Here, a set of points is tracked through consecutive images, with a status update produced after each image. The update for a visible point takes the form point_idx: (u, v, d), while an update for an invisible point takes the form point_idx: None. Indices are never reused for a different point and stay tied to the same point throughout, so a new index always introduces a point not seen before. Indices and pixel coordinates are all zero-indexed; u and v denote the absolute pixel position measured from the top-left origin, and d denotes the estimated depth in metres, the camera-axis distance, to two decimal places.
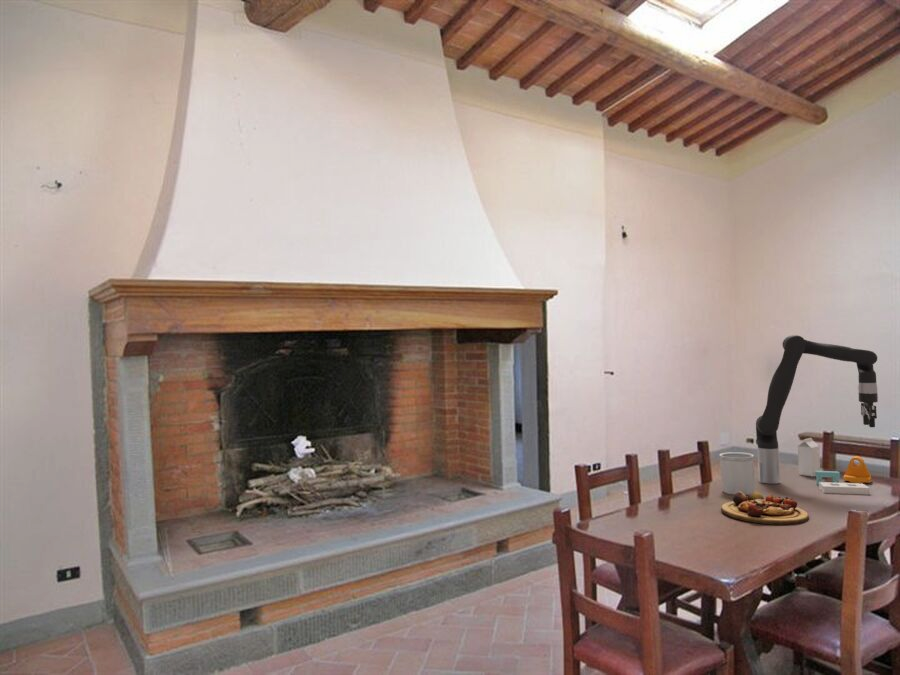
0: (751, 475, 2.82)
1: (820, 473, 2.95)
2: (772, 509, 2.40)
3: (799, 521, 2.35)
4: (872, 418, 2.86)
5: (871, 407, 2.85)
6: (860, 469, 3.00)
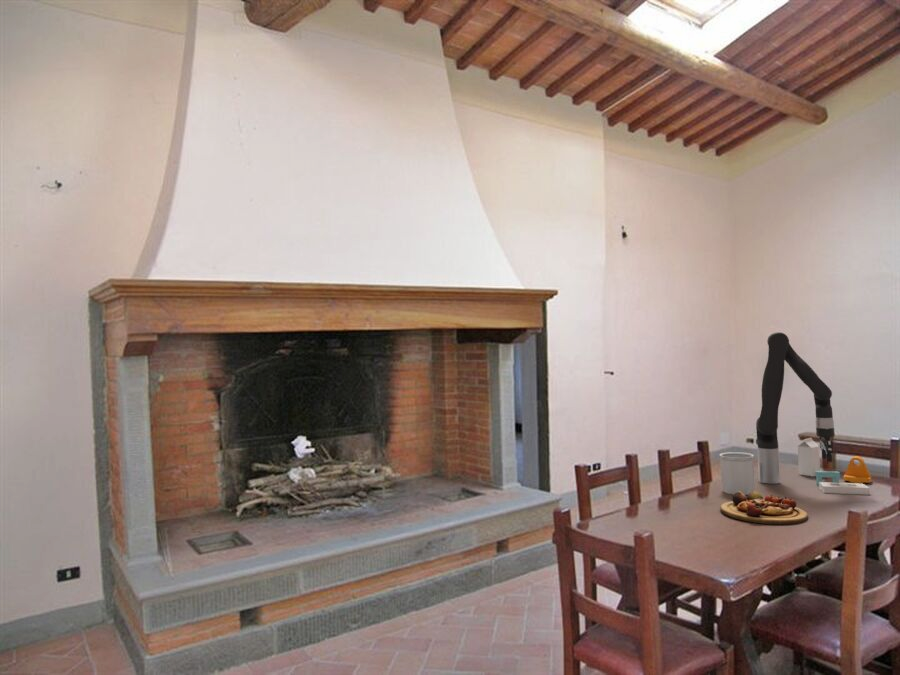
0: (751, 475, 2.82)
1: (820, 473, 2.95)
2: (771, 509, 2.40)
3: (798, 521, 2.35)
4: (829, 453, 2.89)
5: (827, 442, 2.89)
6: (860, 469, 3.00)
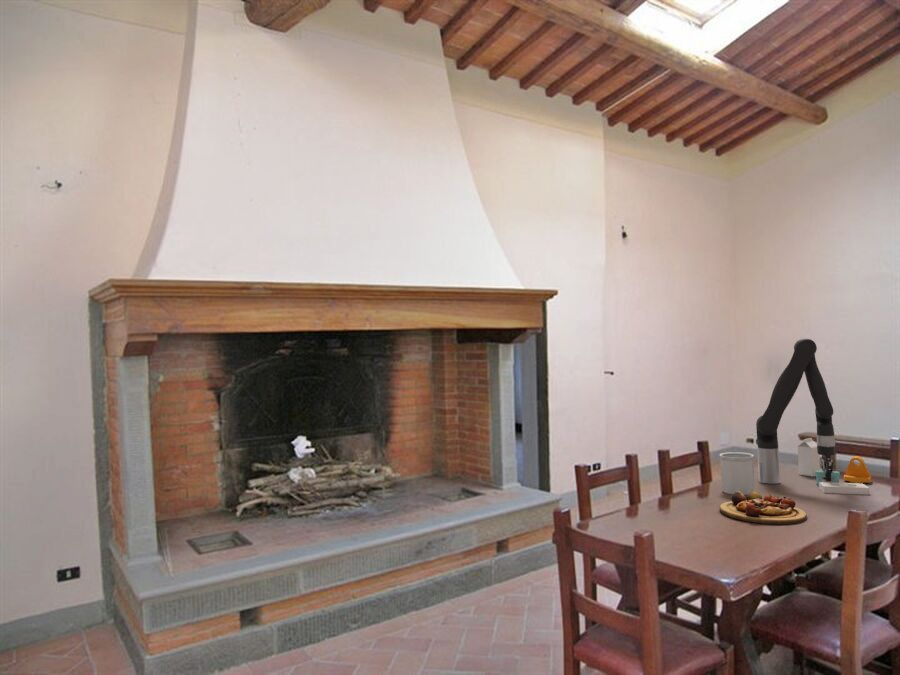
0: (751, 475, 2.82)
1: (820, 473, 2.95)
2: (770, 509, 2.40)
3: (797, 521, 2.36)
4: (828, 472, 2.92)
5: (828, 464, 2.89)
6: (860, 469, 3.00)
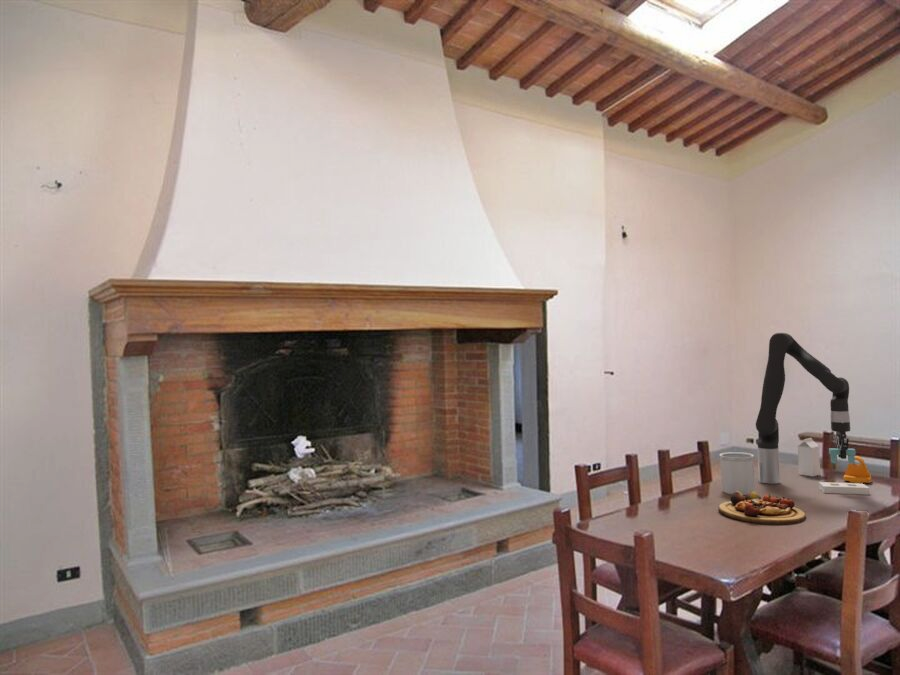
0: (751, 475, 2.82)
1: (835, 450, 2.82)
2: (769, 509, 2.41)
3: (796, 521, 2.36)
4: (843, 449, 2.79)
5: (843, 440, 2.77)
6: (860, 469, 3.00)
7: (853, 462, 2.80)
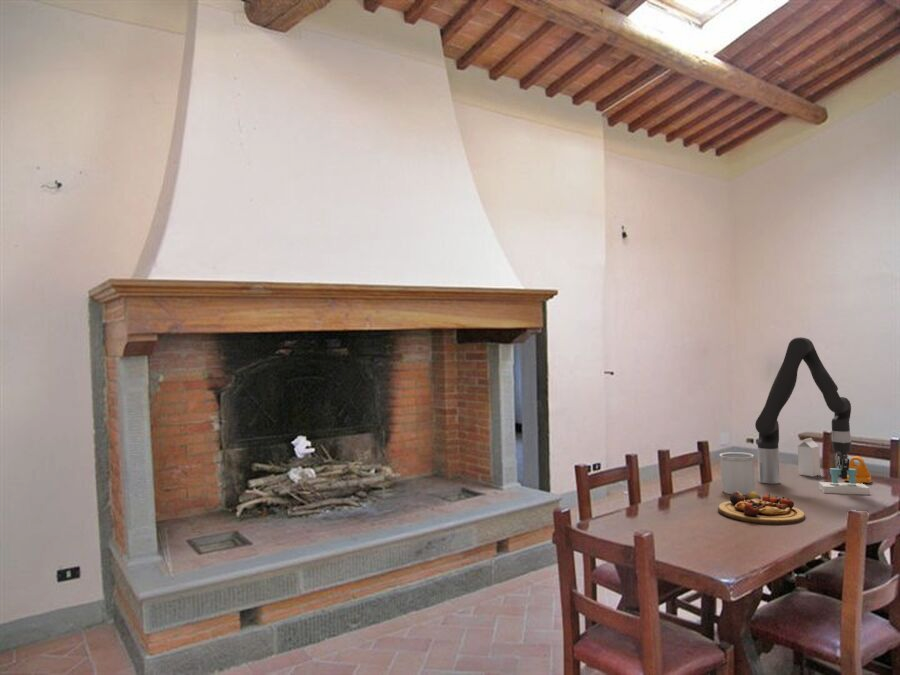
0: (751, 475, 2.82)
1: (836, 470, 2.81)
2: (768, 509, 2.41)
3: (795, 521, 2.36)
4: (844, 470, 2.78)
5: (844, 461, 2.76)
6: (860, 469, 3.00)
7: (854, 482, 2.79)
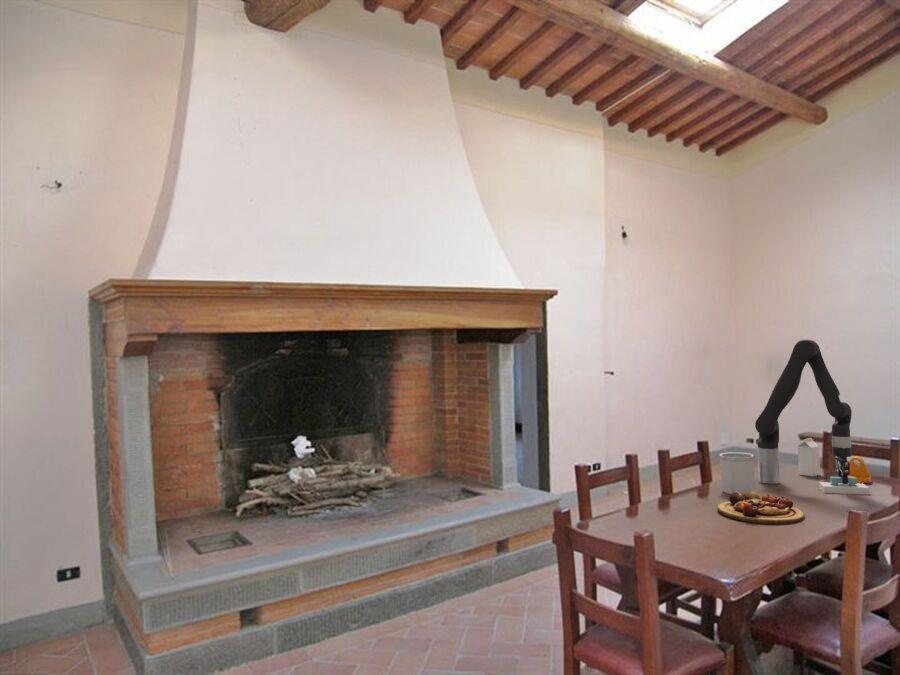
0: (751, 475, 2.82)
1: (836, 479, 2.81)
2: (767, 509, 2.41)
3: (794, 521, 2.36)
4: (845, 475, 2.77)
5: (844, 464, 2.76)
6: (860, 469, 3.00)
7: None
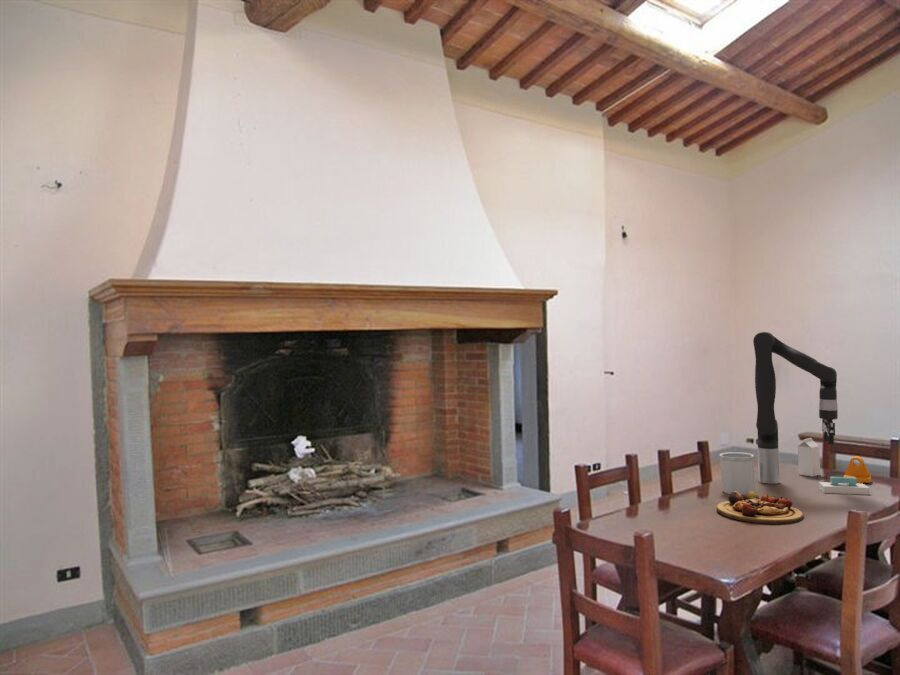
0: (751, 475, 2.82)
1: (836, 479, 2.81)
2: (766, 508, 2.41)
3: (793, 520, 2.36)
4: (831, 435, 2.85)
5: (830, 424, 2.84)
6: (860, 469, 3.00)
7: None
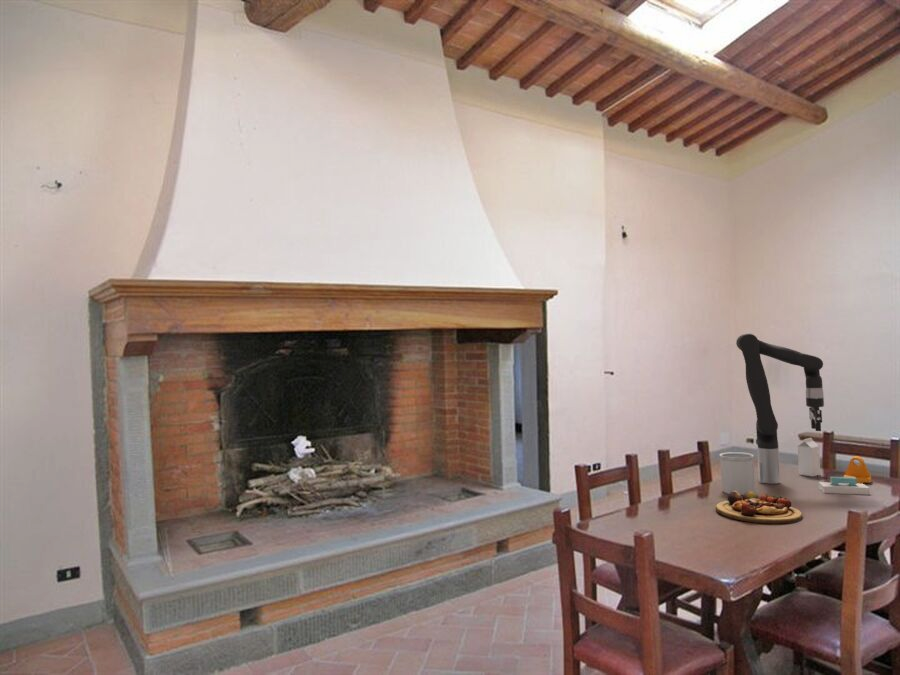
0: (751, 475, 2.82)
1: (836, 479, 2.81)
2: (765, 508, 2.41)
3: (792, 520, 2.37)
4: (818, 422, 2.95)
5: (817, 411, 2.94)
6: (860, 469, 3.00)
7: None
